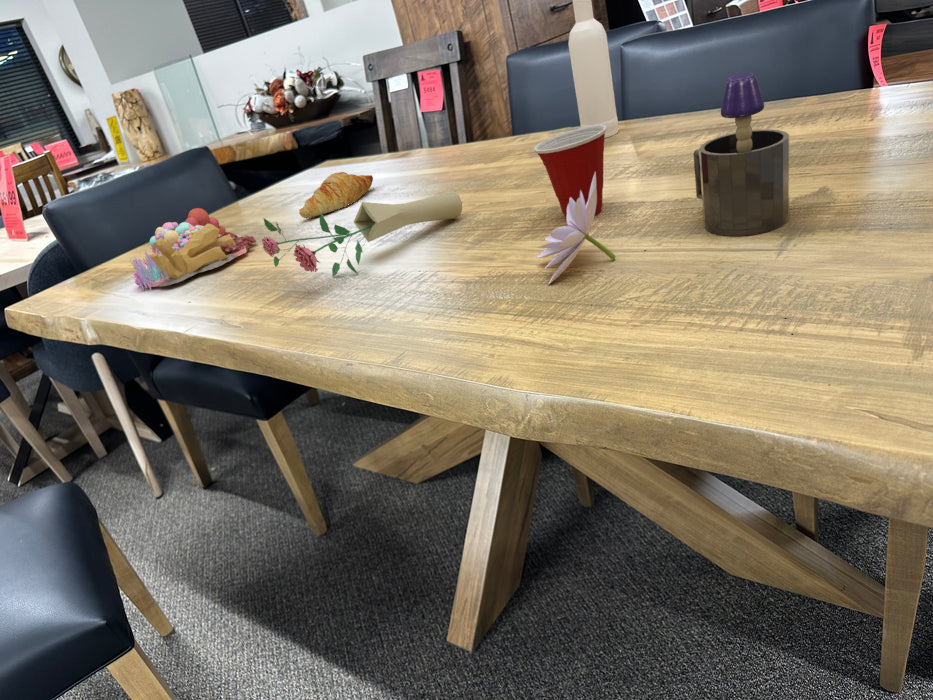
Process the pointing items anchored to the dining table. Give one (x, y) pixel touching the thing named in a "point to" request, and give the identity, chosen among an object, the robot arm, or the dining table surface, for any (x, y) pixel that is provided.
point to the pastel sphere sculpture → (188, 250)
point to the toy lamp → (742, 106)
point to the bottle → (592, 70)
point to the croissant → (336, 193)
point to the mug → (744, 183)
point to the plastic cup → (574, 163)
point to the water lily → (573, 232)
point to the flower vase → (372, 226)
